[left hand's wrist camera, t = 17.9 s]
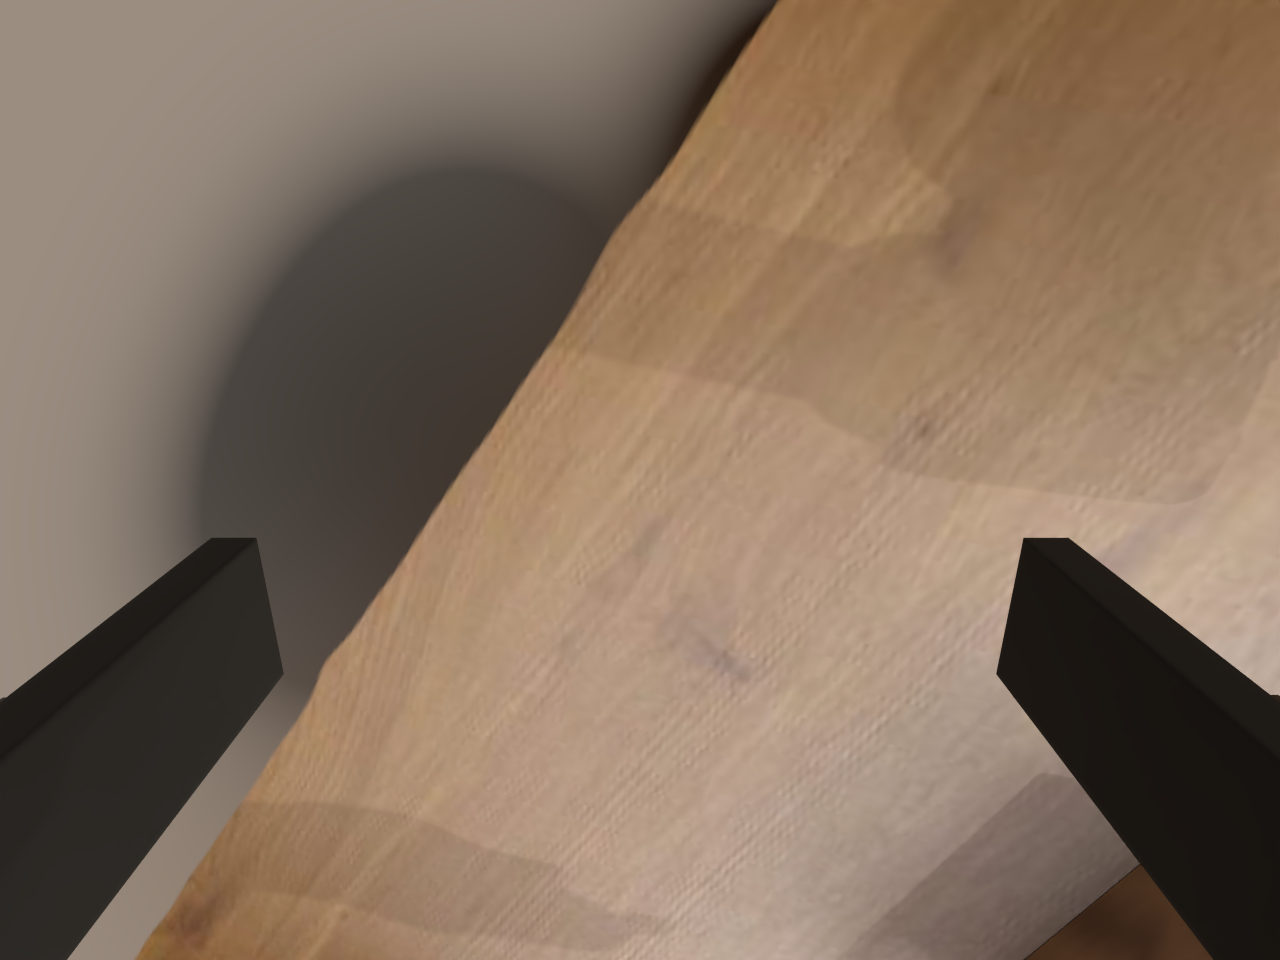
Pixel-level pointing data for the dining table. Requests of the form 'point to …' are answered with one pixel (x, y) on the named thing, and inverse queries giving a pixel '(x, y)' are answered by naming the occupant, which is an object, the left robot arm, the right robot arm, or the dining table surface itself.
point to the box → (1126, 928)
